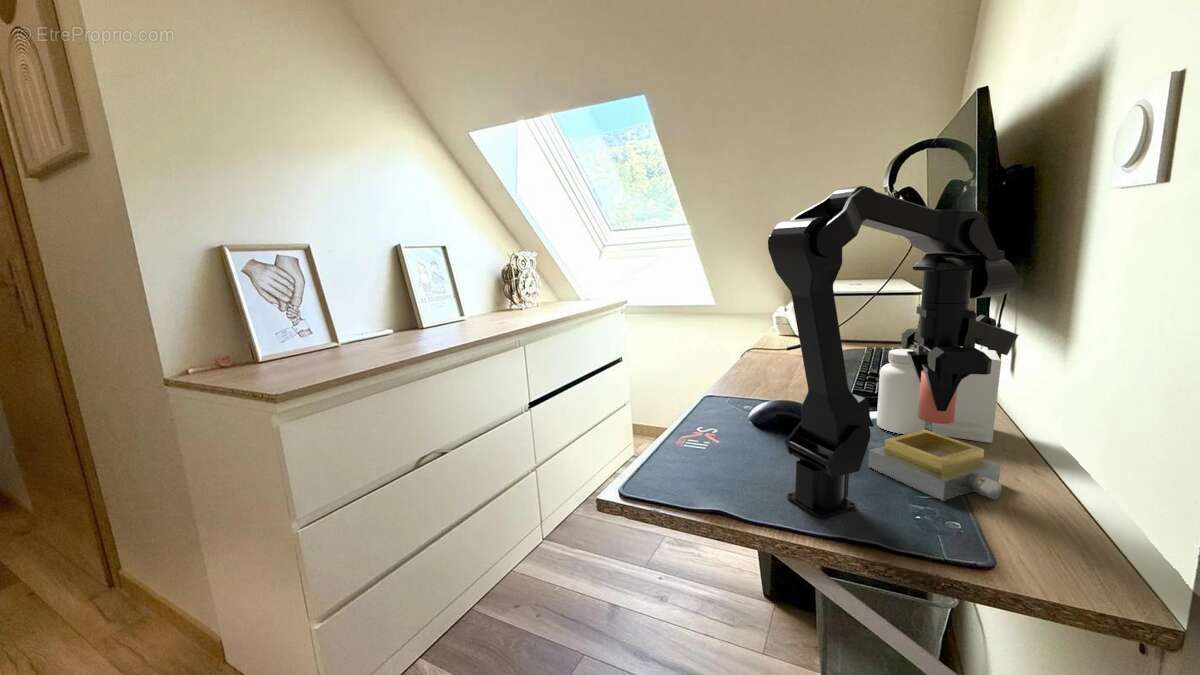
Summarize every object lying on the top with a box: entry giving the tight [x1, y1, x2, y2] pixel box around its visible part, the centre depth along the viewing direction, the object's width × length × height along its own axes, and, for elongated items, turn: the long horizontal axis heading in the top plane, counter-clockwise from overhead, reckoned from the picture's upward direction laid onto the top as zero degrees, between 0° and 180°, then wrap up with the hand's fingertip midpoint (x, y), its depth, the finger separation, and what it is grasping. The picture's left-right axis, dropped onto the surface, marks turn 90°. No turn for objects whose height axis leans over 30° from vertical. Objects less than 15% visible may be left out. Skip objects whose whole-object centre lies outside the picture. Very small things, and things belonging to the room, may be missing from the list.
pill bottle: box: [876, 348, 927, 434], centre depth 93 cm, size 8×8×15 cm
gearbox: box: [867, 429, 1002, 502], centre depth 75 cm, size 12×15×5 cm
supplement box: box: [931, 348, 1002, 444], centre depth 91 cm, size 9×9×15 cm
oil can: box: [918, 370, 957, 424], centre depth 74 cm, size 4×4×7 cm
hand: (936, 405), depth 74 cm, fingers closed on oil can, 4 cm apart
